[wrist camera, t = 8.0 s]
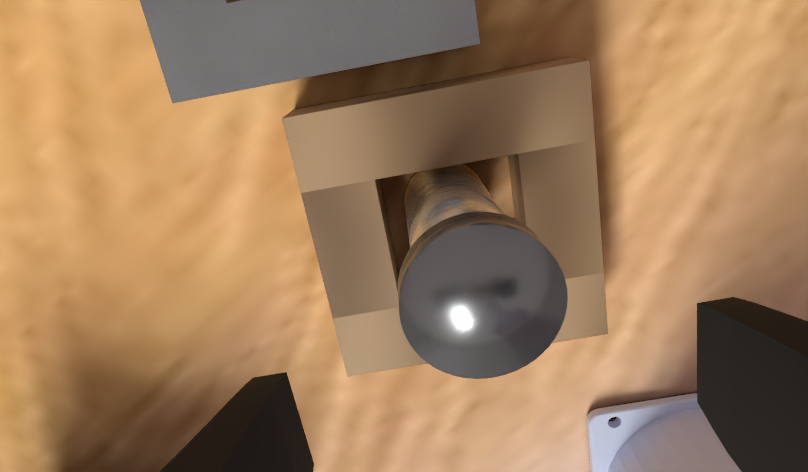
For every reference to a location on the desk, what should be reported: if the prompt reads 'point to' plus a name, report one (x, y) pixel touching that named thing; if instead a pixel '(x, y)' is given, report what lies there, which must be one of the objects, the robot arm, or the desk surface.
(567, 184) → the socket
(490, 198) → the lock pin
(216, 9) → the mount
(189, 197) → the desk surface
